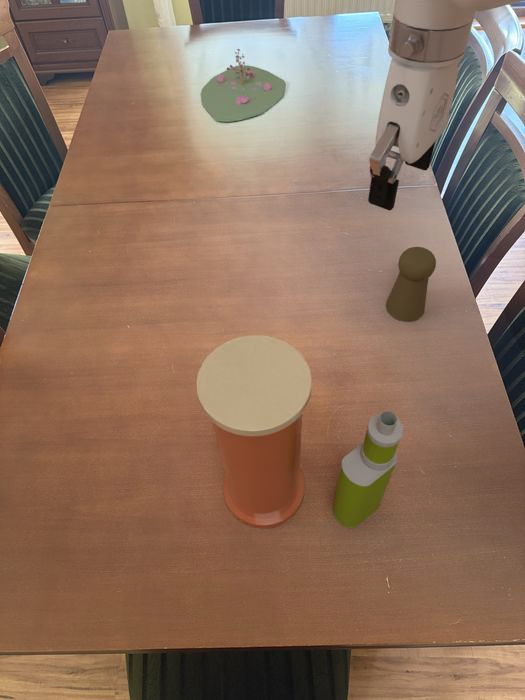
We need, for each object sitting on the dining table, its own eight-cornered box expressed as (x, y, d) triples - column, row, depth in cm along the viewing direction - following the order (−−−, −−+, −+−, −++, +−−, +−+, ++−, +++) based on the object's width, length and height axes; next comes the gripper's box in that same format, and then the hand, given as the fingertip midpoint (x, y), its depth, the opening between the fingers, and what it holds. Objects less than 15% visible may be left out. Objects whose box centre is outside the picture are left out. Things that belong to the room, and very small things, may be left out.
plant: (284, 122, 115) (284, 81, 108) (194, 124, 116) (188, 83, 109) (285, 71, 131) (285, 32, 123) (205, 73, 132) (201, 34, 124)
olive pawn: (419, 326, 78) (435, 274, 69) (380, 314, 80) (392, 262, 71) (429, 299, 81) (446, 246, 72) (392, 288, 83) (404, 235, 74)
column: (314, 518, 61) (326, 416, 42) (231, 537, 60) (205, 442, 41) (293, 443, 67) (295, 325, 48) (218, 460, 66) (189, 346, 47)
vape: (385, 502, 61) (419, 420, 46) (348, 533, 59) (371, 458, 43) (363, 479, 63) (389, 392, 47) (327, 508, 61) (341, 428, 45)
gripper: (426, 80, 45) (394, 234, 58) (498, 13, 53) (455, 161, 67) (351, 61, 48) (337, 211, 61) (431, 0, 56) (403, 144, 69)
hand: (399, 185), depth 64 cm, fingers open, 9 cm apart
